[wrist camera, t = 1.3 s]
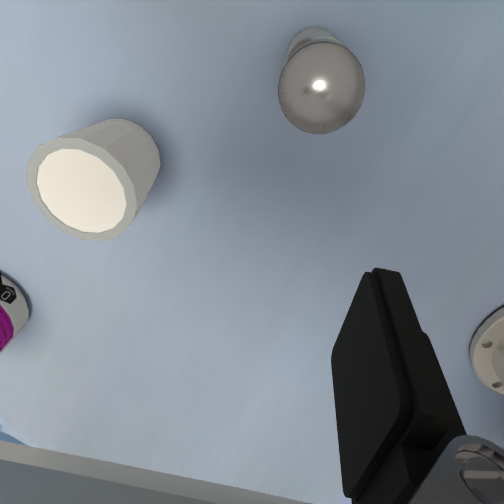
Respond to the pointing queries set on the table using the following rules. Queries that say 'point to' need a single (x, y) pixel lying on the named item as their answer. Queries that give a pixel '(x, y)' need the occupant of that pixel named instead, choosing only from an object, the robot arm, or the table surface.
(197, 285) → the table surface
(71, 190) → the white cylinder
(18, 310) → the supplement can
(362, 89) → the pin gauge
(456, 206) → the table surface
